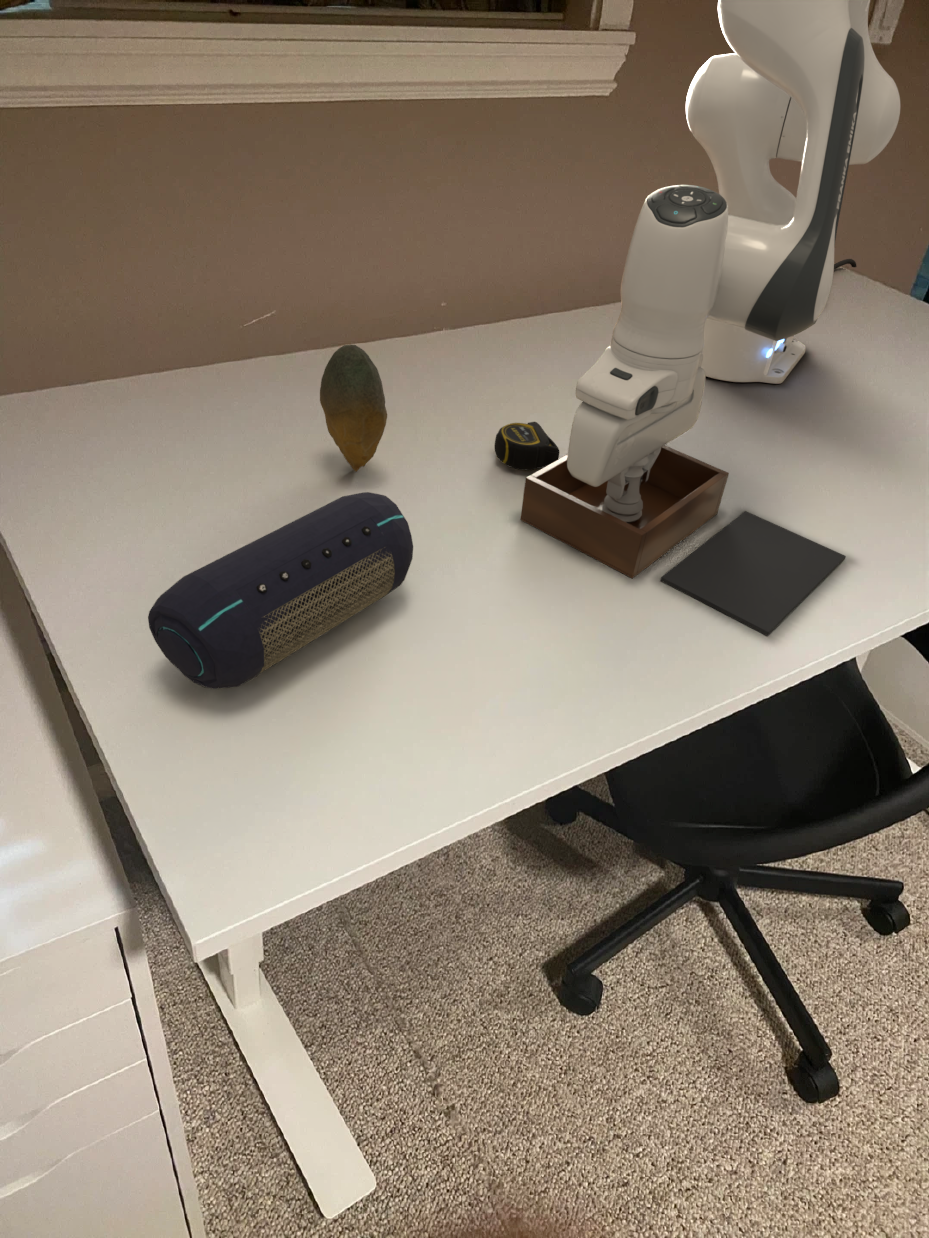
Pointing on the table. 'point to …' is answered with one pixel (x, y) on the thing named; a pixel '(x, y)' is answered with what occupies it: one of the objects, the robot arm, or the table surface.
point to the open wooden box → (574, 516)
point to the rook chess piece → (628, 496)
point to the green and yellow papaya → (353, 404)
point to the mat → (754, 571)
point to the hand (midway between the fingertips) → (626, 488)
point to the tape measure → (525, 446)
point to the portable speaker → (282, 590)
